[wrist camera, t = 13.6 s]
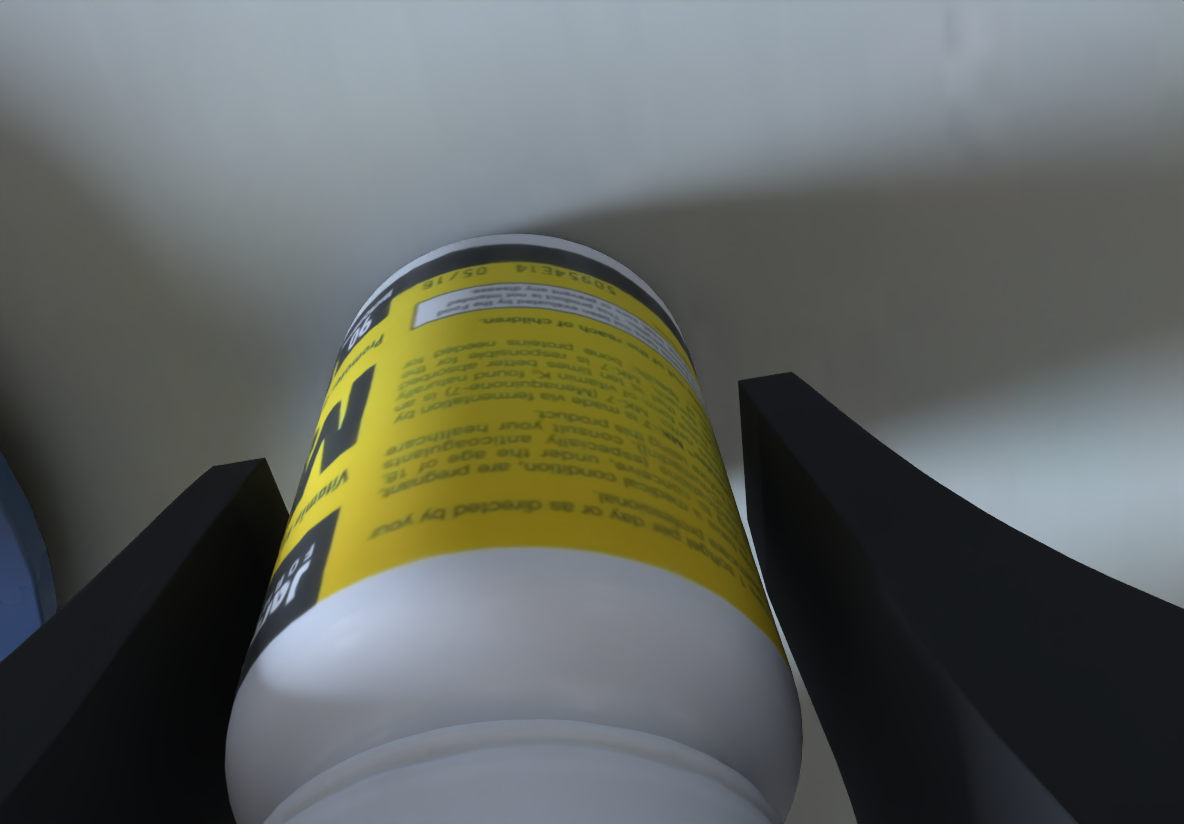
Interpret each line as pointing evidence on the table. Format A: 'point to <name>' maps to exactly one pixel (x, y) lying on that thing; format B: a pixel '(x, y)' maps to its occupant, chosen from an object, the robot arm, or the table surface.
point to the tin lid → (21, 567)
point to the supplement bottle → (514, 572)
